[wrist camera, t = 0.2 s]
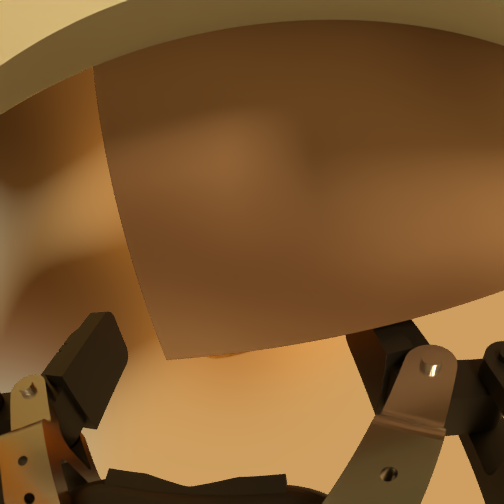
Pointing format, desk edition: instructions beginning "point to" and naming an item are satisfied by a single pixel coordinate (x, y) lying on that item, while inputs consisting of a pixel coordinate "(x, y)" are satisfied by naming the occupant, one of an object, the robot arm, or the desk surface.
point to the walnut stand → (306, 178)
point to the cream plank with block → (186, 28)
